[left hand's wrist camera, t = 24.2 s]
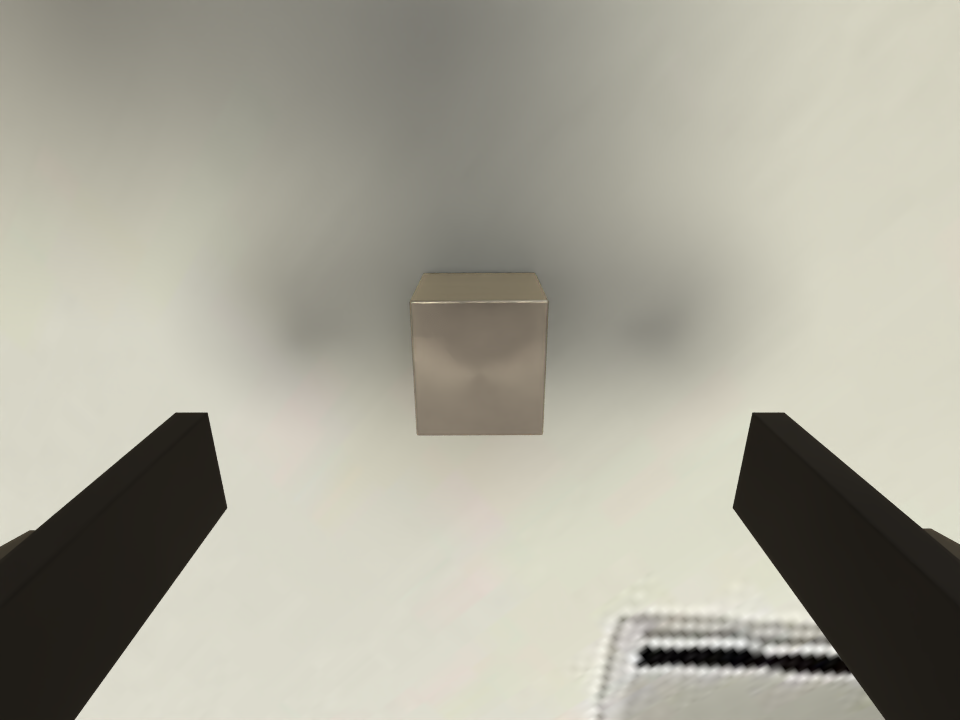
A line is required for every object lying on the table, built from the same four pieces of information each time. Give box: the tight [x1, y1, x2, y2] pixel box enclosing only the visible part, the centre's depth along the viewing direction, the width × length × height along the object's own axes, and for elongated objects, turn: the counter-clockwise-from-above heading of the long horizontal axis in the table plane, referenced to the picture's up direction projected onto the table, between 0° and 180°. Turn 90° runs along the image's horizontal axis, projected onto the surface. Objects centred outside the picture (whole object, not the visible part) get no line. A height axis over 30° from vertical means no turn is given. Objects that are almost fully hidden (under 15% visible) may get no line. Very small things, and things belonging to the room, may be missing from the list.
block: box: [410, 273, 549, 435], centre depth 20 cm, size 4×5×4 cm
